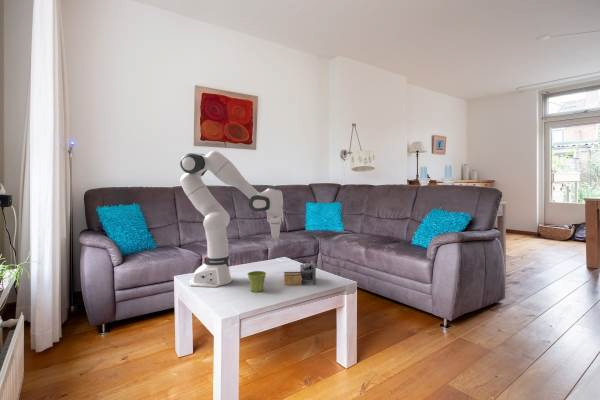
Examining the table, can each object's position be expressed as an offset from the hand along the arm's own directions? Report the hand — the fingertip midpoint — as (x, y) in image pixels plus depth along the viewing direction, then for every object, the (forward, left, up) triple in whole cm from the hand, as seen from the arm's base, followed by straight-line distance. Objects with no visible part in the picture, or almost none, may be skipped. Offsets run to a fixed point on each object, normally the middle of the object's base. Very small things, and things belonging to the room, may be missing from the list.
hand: (275, 243), depth 173 cm
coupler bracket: (+18, 0, -22) cm, 28 cm away
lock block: (+9, 0, -22) cm, 24 cm away
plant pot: (-10, -11, -22) cm, 26 cm away
